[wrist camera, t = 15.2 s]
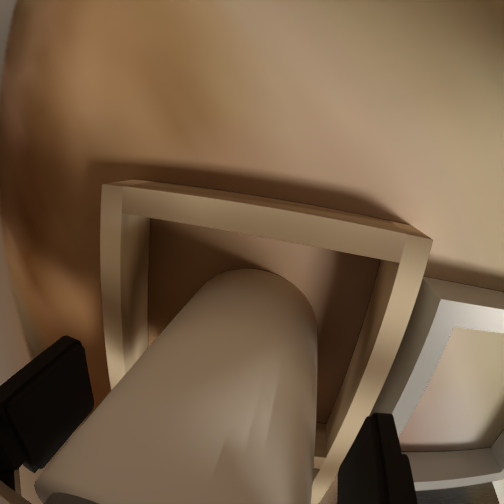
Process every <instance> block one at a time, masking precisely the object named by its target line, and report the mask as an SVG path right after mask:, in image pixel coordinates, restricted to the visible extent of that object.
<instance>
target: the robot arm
mask: <svg viewBox="0 0 504 504" xmlns="http://www.w3.org/2000/svg"><path fill="white" fill-rule="evenodd" d="M93 407H94V399H93V394H92V389H91V384H90V379H89V374H88V368H87V362H86V356H85V350H84V347H83V346H82V344H81V342H80V341H79V340H76V339H74V338H71V337H69V336H63V337H62V338H60V339H59V340H58V341H56V342H55V343H54V344H52V345H51V346H50V347H49V348H47V349H46V350H45V351H43V352H42V353H41V354H40V355H38V356H37V357H36V358H35V359H33V360H32V361H31V362H29V363H28V364H27V365H26V366H25V367H24V368H22V369H21V370H19V371H18V372H17V373H16V374H15V375H13V376H12V377H11V378H10V379H8V380H7V381H6V382H5V383H3V384H2V385H1V386H0V504H31V503H30V502H29V501H27V500H26V499H24V498H23V497H22V496H21V488H20V475H19V467H20V466H21V465H22V464H23V465H24V466H25V467H26V468H28V469H29V470H30V471H32V472H34V473H35V472H36V471H37V470H38V469H42V468H43V467H45V465H46V464H47V463H48V462H49V461H50V459H51V458H52V457H53V456H54V455H55V453H56V452H57V451H58V450H59V448H60V447H61V446H62V445H63V444H64V443H65V442H66V440H67V439H68V438H69V437H70V436H71V434H72V433H73V432H74V431H75V430H76V429H77V427H78V426H79V425H80V424H81V423H82V421H83V420H84V419H85V418H86V417H87V416H88V414H89V413H90V412H91V411H92V409H93ZM337 504H418V503H417V497H416V492H415V486H414V481H413V476H412V471H411V466H410V461H409V458H408V456H407V455H406V454H402V453H401V448H400V444H399V439H398V434H397V430H396V425H395V421H394V417H393V415H392V414H389V413H376V412H375V413H373V414H372V416H371V417H370V416H367V417H366V419H365V420H364V422H363V424H362V426H361V428H360V430H359V432H358V434H357V436H356V438H355V440H354V442H353V444H352V445H351V447H350V449H349V451H348V453H347V455H346V456H345V458H344V460H343V462H342V463H341V465H340V467H339V471H338V501H337Z"/></svg>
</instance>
